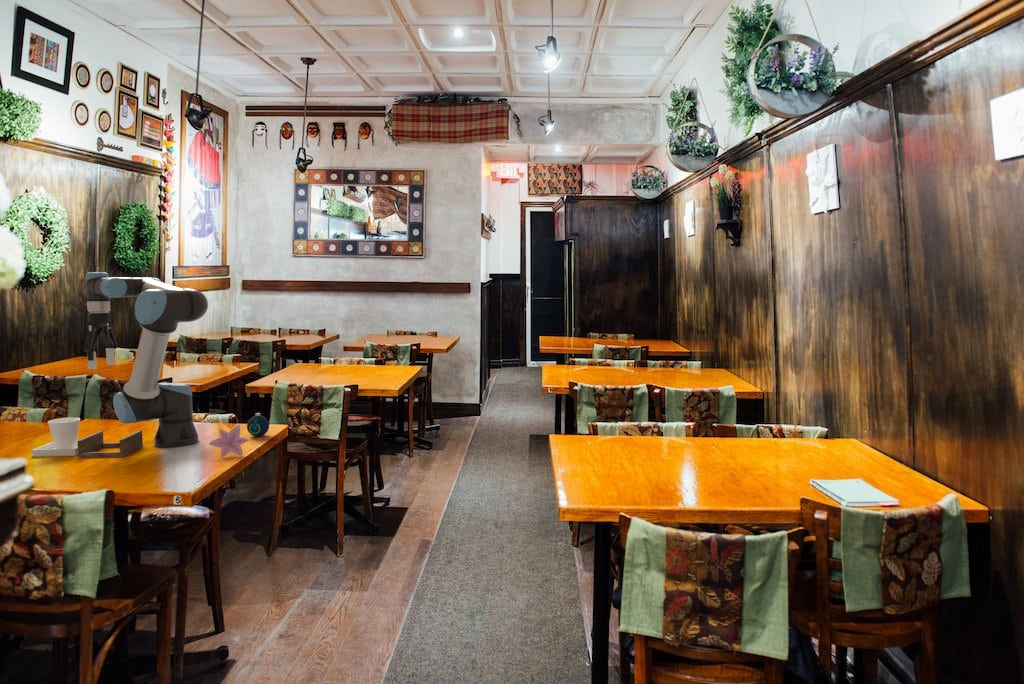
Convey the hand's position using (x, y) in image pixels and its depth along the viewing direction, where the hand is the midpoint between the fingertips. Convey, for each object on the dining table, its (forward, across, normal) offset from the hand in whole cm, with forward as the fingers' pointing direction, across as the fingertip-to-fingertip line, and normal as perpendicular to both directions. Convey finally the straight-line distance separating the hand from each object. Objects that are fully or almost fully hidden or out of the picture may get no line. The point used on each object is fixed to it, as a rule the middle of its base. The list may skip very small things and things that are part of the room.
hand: (101, 366), depth 254 cm
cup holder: (+29, +20, +12) cm, 37 cm away
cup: (+28, +18, -5) cm, 34 cm away
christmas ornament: (+29, -1, +58) cm, 65 cm away
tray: (+29, +18, -5) cm, 34 cm away
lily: (+29, +27, +56) cm, 69 cm away
